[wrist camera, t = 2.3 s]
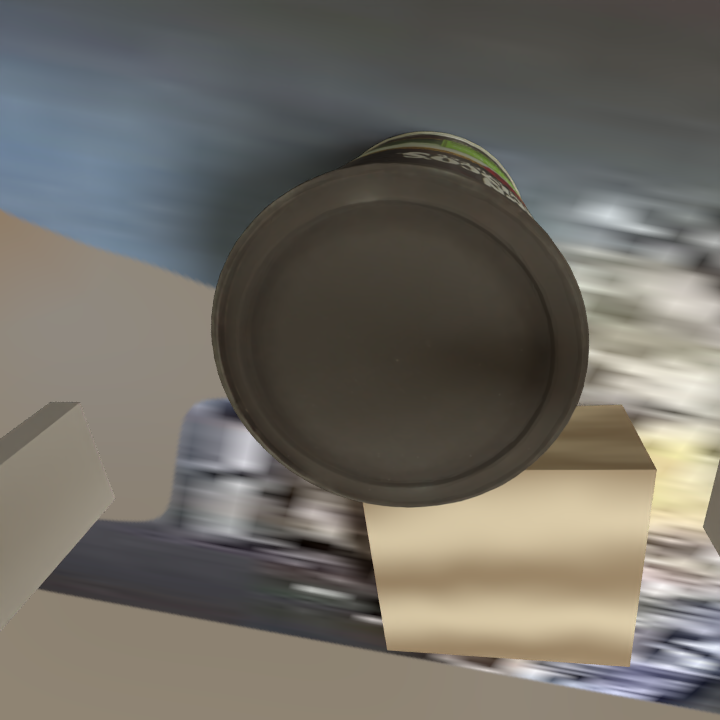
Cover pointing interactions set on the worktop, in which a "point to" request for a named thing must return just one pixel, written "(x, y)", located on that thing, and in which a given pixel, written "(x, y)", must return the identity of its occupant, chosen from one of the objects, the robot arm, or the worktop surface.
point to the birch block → (526, 555)
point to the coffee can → (402, 327)
